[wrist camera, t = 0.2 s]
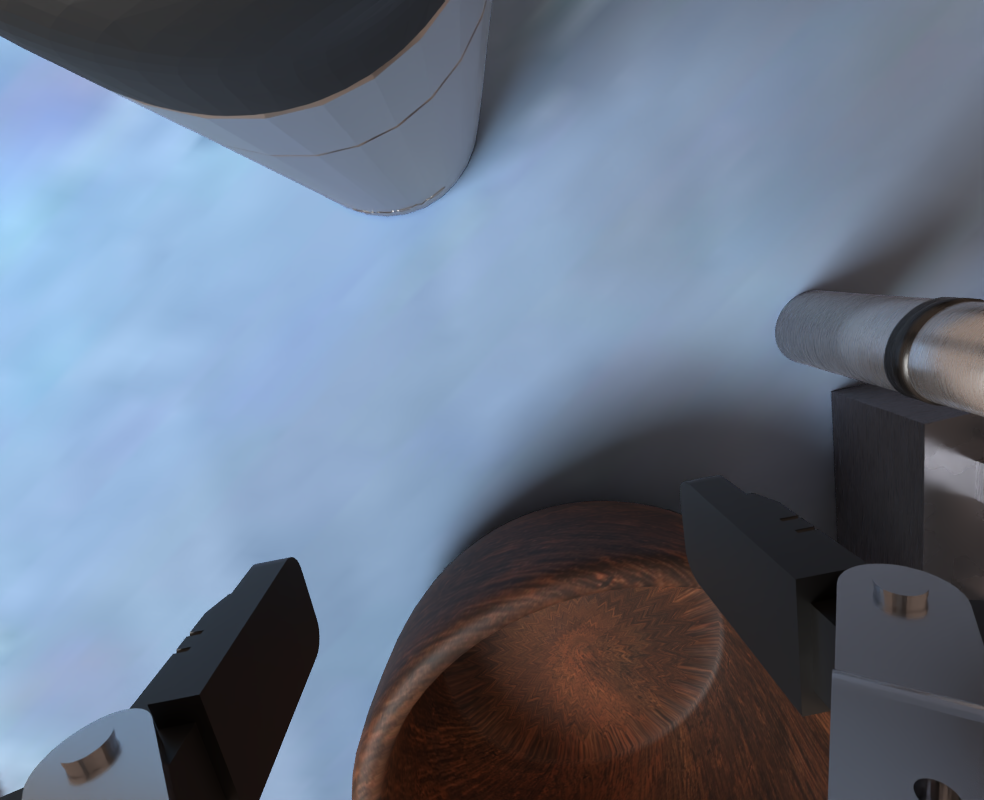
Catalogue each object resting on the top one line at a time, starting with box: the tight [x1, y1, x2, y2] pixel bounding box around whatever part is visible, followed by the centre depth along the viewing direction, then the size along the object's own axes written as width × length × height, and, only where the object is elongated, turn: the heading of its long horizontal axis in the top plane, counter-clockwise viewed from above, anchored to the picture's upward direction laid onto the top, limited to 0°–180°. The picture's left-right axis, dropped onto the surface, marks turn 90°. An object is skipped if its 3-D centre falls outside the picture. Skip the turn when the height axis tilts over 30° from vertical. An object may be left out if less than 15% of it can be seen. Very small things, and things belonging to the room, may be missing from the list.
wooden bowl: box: [352, 501, 831, 800], centre depth 27 cm, size 25×25×10 cm
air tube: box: [775, 290, 984, 417], centre depth 21 cm, size 4×4×14 cm
